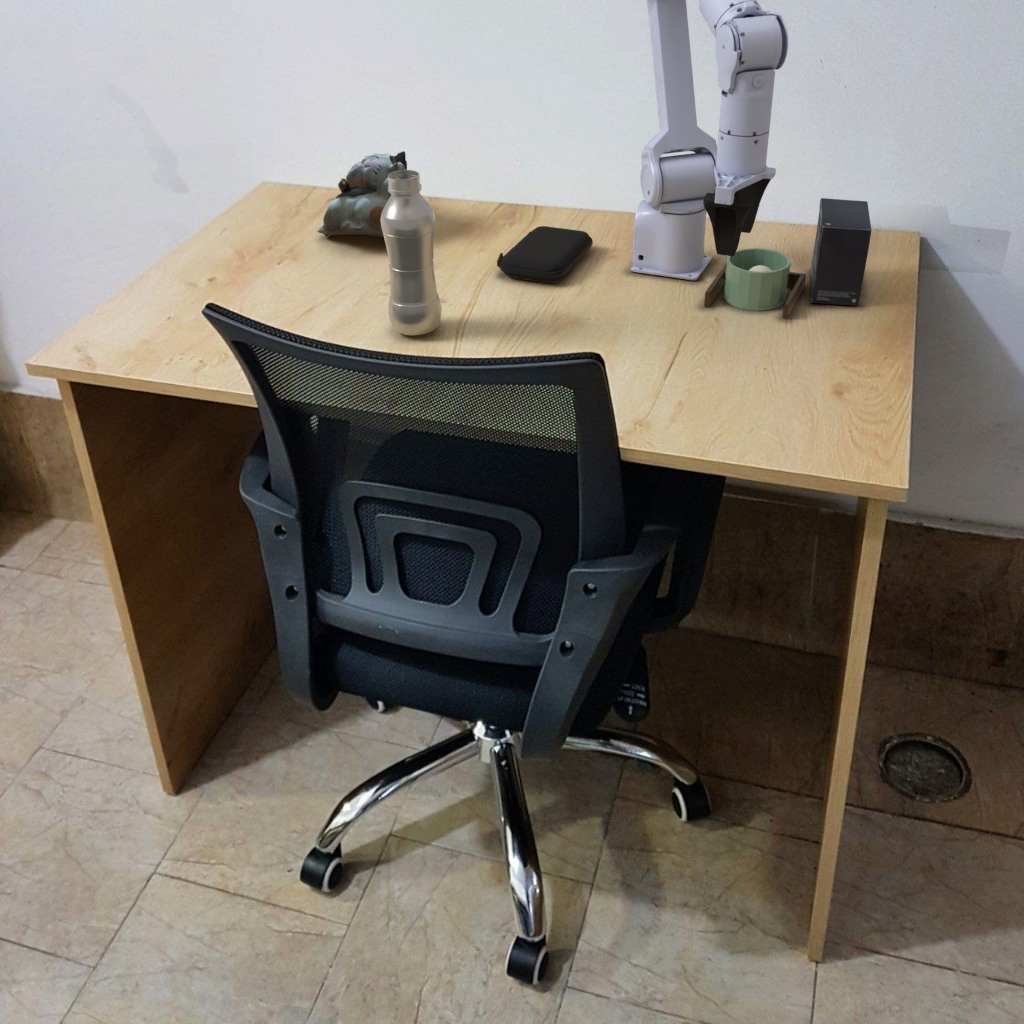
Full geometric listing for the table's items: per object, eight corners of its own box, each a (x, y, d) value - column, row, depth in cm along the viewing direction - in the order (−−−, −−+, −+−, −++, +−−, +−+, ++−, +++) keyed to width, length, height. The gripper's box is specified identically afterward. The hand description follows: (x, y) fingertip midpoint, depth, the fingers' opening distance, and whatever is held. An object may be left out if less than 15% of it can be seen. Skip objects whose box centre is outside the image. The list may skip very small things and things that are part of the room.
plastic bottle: (390, 320, 146) (374, 167, 135) (442, 317, 147) (431, 164, 135) (390, 343, 141) (373, 185, 129) (444, 339, 141) (432, 182, 130)
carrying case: (528, 239, 167) (487, 278, 156) (528, 219, 165) (486, 257, 154) (596, 248, 163) (559, 289, 152) (596, 228, 162) (559, 267, 151)
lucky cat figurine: (306, 233, 172) (320, 139, 170) (378, 248, 178) (392, 158, 176) (343, 234, 159) (359, 133, 157) (419, 251, 165) (435, 154, 163)
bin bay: (704, 306, 147) (705, 292, 145) (724, 276, 154) (725, 262, 153) (787, 319, 143) (789, 304, 142) (804, 287, 150) (806, 273, 149)
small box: (861, 307, 145) (874, 229, 139) (809, 304, 146) (819, 226, 140) (858, 274, 153) (869, 198, 147) (808, 271, 154) (818, 196, 148)
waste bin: (716, 305, 147) (719, 268, 144) (732, 281, 153) (735, 244, 150) (778, 314, 144) (782, 276, 141) (791, 289, 150) (796, 252, 147)
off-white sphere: (739, 299, 147) (742, 270, 144) (747, 286, 150) (750, 258, 147) (769, 304, 145) (773, 275, 143) (777, 291, 148) (780, 262, 146)
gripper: (763, 152, 122) (752, 269, 130) (793, 114, 133) (780, 225, 141) (700, 145, 125) (692, 261, 133) (734, 109, 136) (725, 218, 143)
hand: (734, 242), depth 137 cm, fingers open, 7 cm apart
